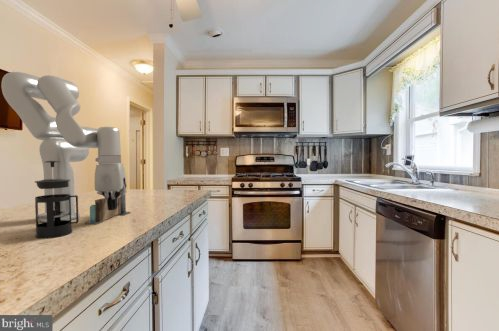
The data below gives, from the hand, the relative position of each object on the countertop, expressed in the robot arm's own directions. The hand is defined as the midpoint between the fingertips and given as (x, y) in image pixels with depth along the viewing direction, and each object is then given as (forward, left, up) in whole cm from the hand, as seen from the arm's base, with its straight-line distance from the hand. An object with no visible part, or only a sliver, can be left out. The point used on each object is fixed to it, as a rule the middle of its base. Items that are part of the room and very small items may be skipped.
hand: (112, 209), depth 101 cm
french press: (+1, -19, -5) cm, 19 cm away
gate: (-5, +1, -4) cm, 6 cm away
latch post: (-4, -5, -4) cm, 8 cm away
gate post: (-9, +9, -4) cm, 14 cm away
